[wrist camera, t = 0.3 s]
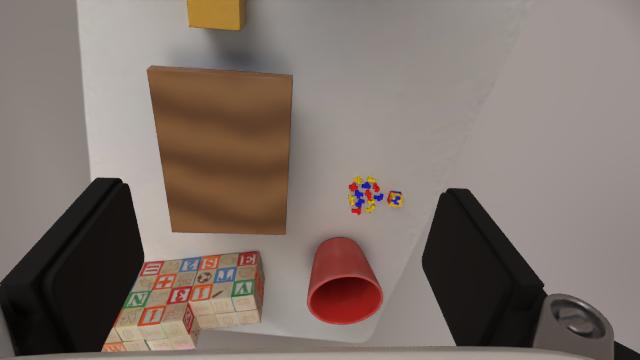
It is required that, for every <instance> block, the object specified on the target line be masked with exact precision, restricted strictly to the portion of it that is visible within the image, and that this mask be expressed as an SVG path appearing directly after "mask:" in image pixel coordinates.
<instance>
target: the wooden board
mask: <svg viewBox="0 0 640 360" xmlns="http://www.w3.org/2000/svg"><path fill="white" fill-rule="evenodd" d="M147 74H148V81H149V87H150V94H151V100H152V106H153V113H154V119H155V125H156V132H157V138H158V145H159V151H160V157H161V164H162V170H163V176H164V183H165V189H166V195H167V202H168V208H169V215H170V221H171V227H172V232H182V233H228V234H274V235H285V234H286V214H287V192H288V171H289V149H290V128H291V106H292V85H293V75H287V74H272V73H257V72H242V71H227V70H212V69H197V68H182V67H167V66H150V67H149V68H148V69H147Z"/></svg>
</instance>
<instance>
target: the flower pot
mask: <svg viewBox="0 0 640 360" xmlns="http://www.w3.org/2000/svg"><path fill="white" fill-rule="evenodd" d="M382 301H383V292H382V289H381V287H380V285H379V283H378V281H377V279H376V277H375V275H374V273H373V271H372V269H371V267H370V265H369V263H368V261H367V259H366V257H365V255H364V254H363V252H362V250H361V248H360V247H359V245H358V244H357V243H356V242H354V241H353V240H351V239H348V238H333V239H329V240H327V241H325V242H324V243H322V244H321V245H320V246H319V247H318V249H317V251H316V253H315V258H314V262H313V267H312V272H311V278H310V284H309V290H308V297H307V305H308V308H309V310H310V312H311V313H312V314H313V315H314V316H315V317H316V318H317V319H319V320H321V321H323V322H326V323H330V324H338V325H346V324H352V323H356V322H360V321H362V320H364V319H366V318H368V317H370V316H371V315H373V314H374V313H375V312H376V311H377V310H378V309H379V308H380V306H381V304H382Z"/></svg>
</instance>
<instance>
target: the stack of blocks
mask: <svg viewBox="0 0 640 360" xmlns="http://www.w3.org/2000/svg"><path fill="white" fill-rule="evenodd" d="M264 280H265V277H264V273H263V269H262V264H261V259H260V255H259V252H250V253H241V254H239V253H237V254H227V255H217V256H207V257H202V258H201V257H200V258H191V259H184V260H172V261H158V262H148V263H144V264H143V267H142V269H141V271H140V273H139V275H138V277H137V279H136V281H135V283H134V285H133V287H132V289H131V291H130V293H129V295H128V297H127V299H126V301H125V303H124V305H123V307H122V309H121V311H120V314H119V316H118V318H117V320H116V322H115V324H114V326H113V328H112V330H111V332H110V334H109V336H108V338H107V340H106V342H105V344H104V346H103V349H104V350H105V352H115V351H153V350H184V349H192V348H196V344H197V340H198V337H199V333H200V330H201V329H209V328H217V327H229V326H239V325H244V324H254V323H260V322H261V314H262V306H263V295H264Z"/></svg>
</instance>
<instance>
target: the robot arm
mask: <svg viewBox="0 0 640 360" xmlns="http://www.w3.org/2000/svg"><path fill="white" fill-rule="evenodd" d="M143 264H144V251H143V246H142V242H141V237H140V233H139V228H138V224H137V219H136V215H135V210H134V206H133V201H132V197H131V192H130V188H129V185H128V184H127V183H123V182H122V180H121V179H120V178H96V179H95V180H94V181H93V182H92V183H91V184H90V185H89V186H88V187H87V188H86V190H85V191H84V192H83V193H82V194H81V195H80V196H79V197H78V198H77V199H76V200H75V202H74V203H73V204H72V205H71V206H70V207H69V208H68V209H67V210H66V211H65V213H64V214H63V215H62V216H61V217H60V218H59V219H58V220H57V221H56V222H55V223H54V225H53V226H52V227H51V228H50V229H49V230H48V231H47V232H46V233H45V234H44V235H43V237H42V238H41V239H40V240H39V241H38V242H37V243H36V244H35V245H34V246H33V247H32V249H31V250H30V251H29V252H28V253H27V254H26V255H25V256H24V257H23V258H22V260H21V261H20V262H19V263H18V264H17V265H16V266H15V267H14V268H13V270H11V272H10V273H9V274H8V275H7V276H6V277H5V278H4V279H3V280H2V281H1V283H0V285H1V286H0V360H640V354H639V353H637V352H635V351H633V350H631V349H629V348H627V347H626V346H623V345H622V344H620V343H618V342H616V341H614V332H613V328H612V326H611V325H610V323H609V321H608V320H607V319H606V318H605V317H604V316H603V315H602V314H601V313H600V312H599V311H598V310H597V309H595V308H594V307H593V306H591V305H590V304H588V303H586V302H584V301H582V300H581V299H578V298H576V297H573V296H570V295H565V294H551V295H549V296H548V295H547V294H546V292H545V291H544V290H543V287H544V284H543V282H542V281H541V280H540V279H539V277H538V276H537V275H536V274H535V272H534V271H533V270H532V269H531V267H530V266H529V265H528V263H527V262H526V261H525V260H524V258H523V257H522V256H521V255H520V253H519V252H518V251H517V250H516V248H515V247H514V246H513V245H512V243H511V242H510V241H509V239H508V238H507V237H506V236H505V234H504V233H503V232H502V231H501V229H500V228H499V227H498V226H497V224H496V223H495V222H494V221H493V219H492V218H491V217H490V216H489V214H488V213H487V212H486V211H485V210H484V208H483V207H482V206H481V204H480V203H479V202H478V200H477V199H476V198H475V197H474V195H473V194H472V193H471V192H470V191H469V190H468V189H458V188H449V189H447V191H446V192H445V193H442V194H441V195H440V198H439V201H438V204H437V208H436V211H435V215H434V219H433V222H432V225H431V229H430V232H429V235H428V239H427V243H426V246H425V249H424V252H423V256H422V267H423V270H424V272H425V274H426V277H427V279H428V281H429V284H430V286H431V288H432V290H433V293H434V295H435V297H436V300H437V302H438V304H439V306H440V309H441V311H442V313H443V316H444V318H445V320H446V322H447V325H448V327H449V329H450V332H451V334H452V336H453V339H454V341H455V343H456V346H434V347H433V346H430V347H429V346H426V347H425V346H423V347H325V348H262V349H261V348H259V349H208V350H207V349H204V350H153V351H115V352H101V350H102V348H103V346H104V344H105V342H106V340H107V338H108V336H109V334H110V332H111V330H112V328H113V326H114V324H115V322H116V320H117V318H118V316H119V314H120V311H121V309H122V307H123V305H124V303H125V301H126V299H127V297H128V295H129V293H130V291H131V289H132V287H133V285H134V283H135V281H136V279H137V277H138V275H139V273H140V271H141V269H142V267H143Z"/></svg>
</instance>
